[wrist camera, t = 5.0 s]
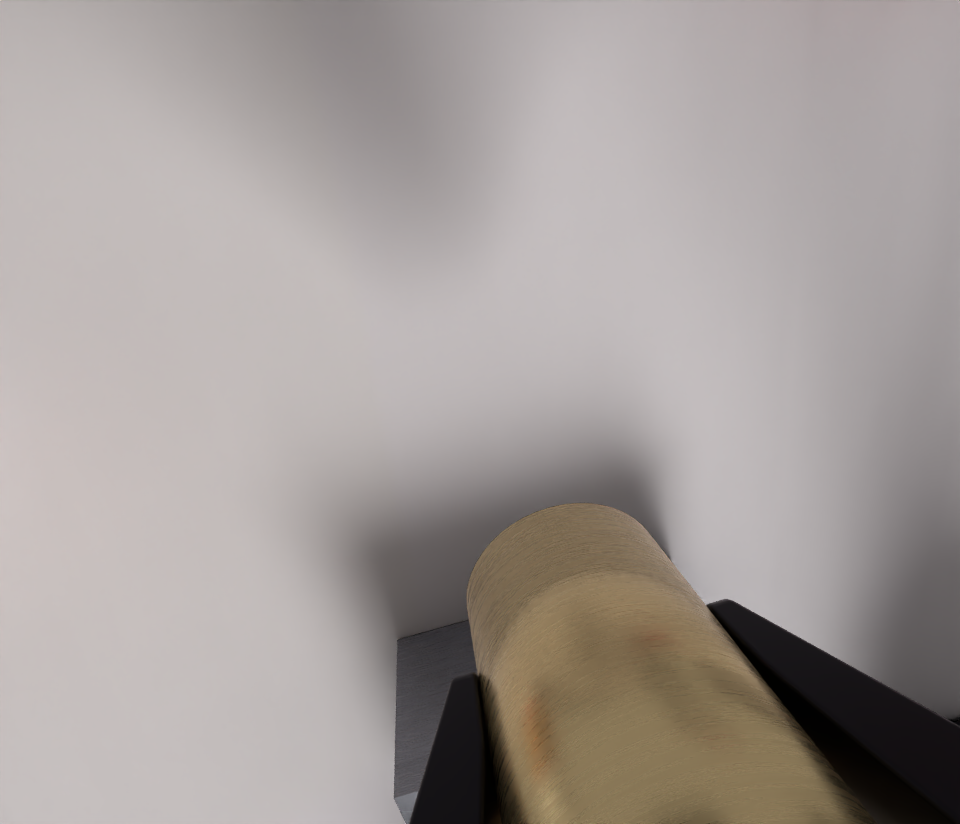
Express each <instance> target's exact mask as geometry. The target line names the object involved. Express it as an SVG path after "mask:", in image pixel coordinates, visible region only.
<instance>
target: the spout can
mask: <svg viewBox="0 0 960 824" xmlns="http://www.w3.org/2000/svg"><path fill="white" fill-rule="evenodd" d="M466 598H467V611H468V617H469V624H470V630H471V636H472V642H473V649H474V655H475V661H476V668H477V674H478V679H479V686H480V692H481V698H482V705H483V711H484V717H485V723H486V730H487V736H488V742H489V749H490V755H491V762H492V768H493V775H494V781H495V787H496V794H497V800H498V806H499V813H500V819H501V824H877V822H876V821H875V820H874V819H873V817H872V816H871V815H870V814H869V812H868V811H867V810H866V808H865V807H864V806H863V805H862V803H861V802H860V801H859V800H858V798H857V797H856V796H855V795H854V793H853V792H852V791H851V789H850V788H849V787H848V786H847V784H846V783H845V782H844V781H843V779H842V778H841V777H840V775H839V774H838V773H837V772H836V770H835V769H834V768H833V767H832V765H831V764H830V763H829V761H828V760H827V759H826V758H825V756H824V755H823V754H822V753H821V751H820V750H819V749H818V747H817V746H816V745H815V744H814V742H813V741H812V740H811V739H810V737H809V736H808V735H807V733H806V732H805V731H804V730H803V728H802V727H801V726H800V725H799V723H798V722H797V721H796V719H795V718H794V717H793V716H792V714H791V713H790V712H789V711H788V709H787V708H786V707H785V705H784V704H783V703H782V702H781V700H780V699H779V698H778V697H777V695H776V694H775V693H774V691H773V690H772V689H771V688H770V686H769V685H768V684H767V683H766V681H765V680H764V679H763V677H762V676H761V675H760V674H759V672H758V671H757V670H756V669H755V667H754V666H753V665H752V663H751V662H750V661H749V660H748V658H747V657H746V656H745V655H744V653H743V652H742V651H741V649H740V648H739V647H738V646H737V644H736V643H735V642H734V641H733V639H732V638H731V637H730V635H729V634H728V633H727V632H726V630H725V629H724V628H723V627H722V625H721V624H720V623H719V621H718V620H717V619H716V618H715V616H714V615H713V614H712V613H711V611H710V610H709V609H708V607H707V606H706V605H705V604H704V602H703V601H702V600H701V599H700V597H699V596H698V595H697V593H696V592H695V591H694V590H693V588H692V587H691V586H690V585H689V583H688V582H687V581H686V579H685V578H684V577H683V576H682V574H681V573H680V572H679V571H678V569H677V568H676V567H675V565H674V564H673V563H672V562H671V560H670V559H669V558H668V557H667V555H666V554H665V553H664V551H663V550H662V549H661V548H660V546H659V545H658V544H657V543H656V541H655V540H654V539H653V537H652V536H651V535H650V534H649V532H648V531H647V530H646V529H645V528H644V526H643V525H641V524H640V523H639V522H638V521H637V520H636V519H634V518H633V517H631V516H629V515H628V514H626V513H624V512H622V511H620V510H617V509H615V508H612V507H608V506H604V505H599V504H592V503H572V504H563V505H558V506H553V507H549V508H546V509H543V510H540V511H537V512H535V513H532V514H530V515H528V516H526V517H524V518H522V519H520V520H519V521H517V522H515V523H514V524H512V525H510V526H509V527H508V528H507V529H505V530H504V531H503V532H501V533H500V534H499V535H498V536H497V537H496V538H495V539H494V540H493V541H492V542H491V543H490V544H489V545H488V546H487V548H486V549H485V550H484V551H483V553H482V554H481V556H480V557H479V559H478V561H477V562H476V564H475V566H474V568H473V571H472V573H471V576H470V579H469V583H468V587H467V596H466Z"/></svg>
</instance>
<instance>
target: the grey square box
mask: <svg viewBox="0 0 960 824" xmlns="http://www.w3.org/2000/svg"><path fill="white" fill-rule="evenodd" d="M470 672H474V673H476V674H477V668H476V661H475V655H474V649H473V642H472V636H471V630H470V624H469V620H467V621H464V622H460V623H457V624H453V625H450V626H446V627H443V628H439V629H435V630H432V631H428V632H425V633H421V634H418V635H414V636H411V637H407V638H403V639H400V640H397V685H396V730H395V775H394V799H395V801H396V804H397V806H398V808H399V810H400V812H401V814H402V816H403V818H404V821H405V823H406V824H409V821H410V817H411V814H412V810H413V807H414V804H415V800H416V797H417V794H418V790H419V787H420V784H421V780H422V777H423V774H424V770H425V767H426V764H427V760H428V757H429V754H430V750H431V747H432V744H433V740H434V737H435V733H436V730H437V727H438V723H439V720H440V717H441V713H442V710H443V707H444V703H445V700H446V697H447V693H448V690H449V687H450V684H451V681H452V679H453V678H454V677H456V676H460V675H463V674H467V673H470ZM477 676H478V674H477Z"/></svg>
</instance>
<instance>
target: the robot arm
mask: <svg viewBox="0 0 960 824" xmlns="http://www.w3.org/2000/svg"><path fill="white" fill-rule="evenodd" d="M706 606H707V607H708V609H709V610H710V611H711V613H712V614H713V615H714V616H715V618H716V619H717V620H718V621H719V623H720V624H721V625H722V627H723V628H724V629H725V630H726V632H727V633H728V634H729V635H730V637H731V638H732V639H733V641H734V642H735V643H736V644H737V646H738V647H739V648H740V649H741V651H742V652H743V653H744V655H745V656H746V657H747V658H748V660H749V661H750V662H751V663H752V665H753V666H754V667H755V669H756V670H757V671H758V672H759V674H760V675H761V676H762V677H763V679H764V680H765V681H766V683H767V684H768V685H769V686H770V688H771V689H772V690H773V691H774V693H775V694H776V695H777V697H778V698H779V699H780V700H781V702H782V703H783V704H784V705H785V707H786V708H787V709H788V711H789V712H790V713H791V714H792V716H793V717H794V718H795V719H796V721H797V722H798V723H799V725H800V726H801V727H802V728H803V730H804V731H805V732H806V733H807V735H808V736H809V737H810V739H811V740H812V741H813V742H814V744H815V745H816V746H817V747H818V749H819V750H820V751H821V753H822V754H823V755H824V756H825V758H826V759H827V760H828V761H829V763H830V764H831V765H832V767H833V768H834V769H835V770H836V772H837V773H838V774H839V775H840V777H841V778H842V779H843V781H844V782H845V783H846V784H847V786H848V787H849V788H850V789H851V791H852V792H853V793H854V795H855V796H856V797H857V798H858V800H859V801H860V802H861V803H862V805H863V806H864V807H865V808H866V810H867V811H868V812H869V814H870V815H871V816H872V817H873V819H874V820H875V821H876V822H877V824H960V721H957V722H954V723H953V722H951V721H949V720H947V719H946V718H944V717H942V716H940V715H938V714H937V713H935V712H933V711H931V710H929V709H928V708H926V707H924V706H922V705H920V704H919V703H917V702H915V701H913V700H911V699H909V698H908V697H906V696H904V695H902V694H900V693H899V692H897V691H895V690H893V689H891V688H890V687H888V686H886V685H884V684H882V683H881V682H879V681H877V680H875V679H873V678H872V677H870V676H868V675H866V674H864V673H862V672H861V671H859V670H857V669H855V668H853V667H852V666H850V665H848V664H846V663H844V662H843V661H841V660H839V659H837V658H835V657H834V656H832V655H830V654H828V653H826V652H825V651H823V650H821V649H819V648H817V647H815V646H814V645H812V644H810V643H808V642H806V641H805V640H803V639H801V638H799V637H797V636H796V635H794V634H792V633H790V632H788V631H787V630H785V629H783V628H781V627H779V626H778V625H776V624H774V623H772V622H770V621H768V620H767V619H765V618H763V617H761V616H759V615H758V614H756V613H754V612H752V611H750V610H749V609H747V608H745V607H743V606H741V605H740V604H738V603H736V602H734V601H732V600H729V599H723V600H720V601H716V602H713V603H709V604H707V605H706ZM409 824H501V819H500V813H499V806H498V800H497V794H496V787H495V781H494V775H493V768H492V762H491V755H490V749H489V742H488V736H487V730H486V723H485V717H484V711H483V705H482V698H481V692H480V686H479V679H478V676H477V674H476V673H474V672H470V673H467V674H463V675H460V676H456V677H454V678H453V679H452V681H451V684H450V687H449V690H448V693H447V697H446V700H445V703H444V707H443V710H442V713H441V717H440V720H439V723H438V727H437V730H436V733H435V737H434V740H433V744H432V747H431V750H430V754H429V757H428V760H427V764H426V767H425V770H424V774H423V777H422V780H421V784H420V787H419V790H418V794H417V797H416V800H415V804H414V807H413V810H412V814H411V817H410V821H409Z"/></svg>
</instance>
